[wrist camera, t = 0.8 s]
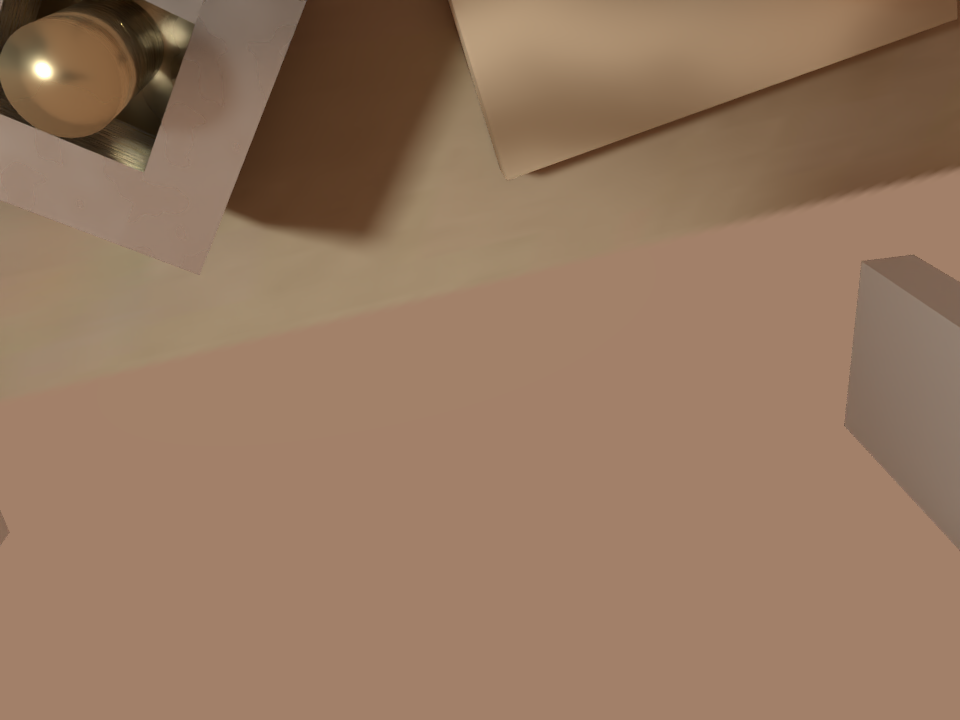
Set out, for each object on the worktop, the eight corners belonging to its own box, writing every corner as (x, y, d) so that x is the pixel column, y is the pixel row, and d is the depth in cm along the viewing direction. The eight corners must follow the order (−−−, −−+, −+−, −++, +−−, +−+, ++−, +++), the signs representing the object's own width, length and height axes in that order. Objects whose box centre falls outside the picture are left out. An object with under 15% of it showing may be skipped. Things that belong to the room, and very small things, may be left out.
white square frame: (-82, 116, 28) (-141, 147, 25) (-10, -202, 24) (-67, -218, 21) (214, 232, 31) (199, 275, 28) (316, -31, 28) (314, -20, 24)
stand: (-29, -35, 27) (-151, -11, 21) (171, -109, 27) (116, -110, 20) (86, 164, 31) (14, 242, 24) (264, 100, 31) (243, 159, 24)
